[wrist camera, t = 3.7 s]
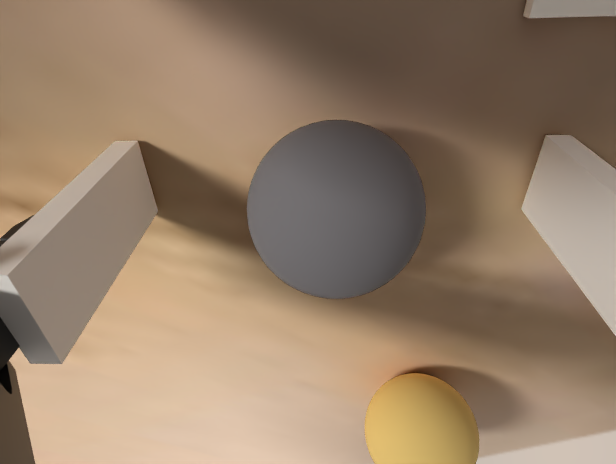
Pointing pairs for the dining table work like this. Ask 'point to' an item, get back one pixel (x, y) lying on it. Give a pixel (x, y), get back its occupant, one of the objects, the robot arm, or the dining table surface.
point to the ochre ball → (420, 423)
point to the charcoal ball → (336, 209)
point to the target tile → (569, 8)
